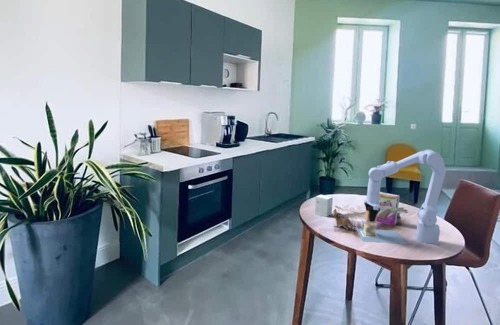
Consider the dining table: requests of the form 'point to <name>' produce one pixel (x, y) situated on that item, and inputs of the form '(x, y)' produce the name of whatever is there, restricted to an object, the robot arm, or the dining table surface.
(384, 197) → the candy bar box
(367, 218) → the terracotta block
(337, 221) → the dinosaur figurine
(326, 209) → the small box
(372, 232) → the birch block
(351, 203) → the dining table surface
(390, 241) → the board
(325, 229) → the dining table surface
